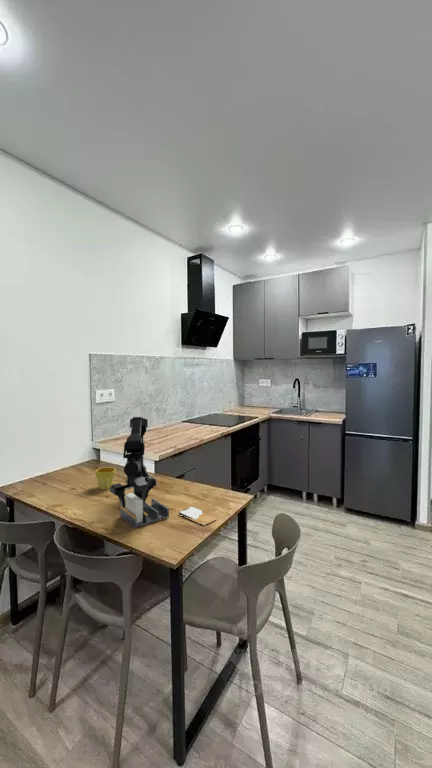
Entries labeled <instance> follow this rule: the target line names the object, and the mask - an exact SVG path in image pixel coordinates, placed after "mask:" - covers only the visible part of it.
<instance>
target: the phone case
mask: <svg viewBox="0 0 432 768" xmlns="http://www.w3.org/2000/svg"><path fill="white" fill-rule="evenodd" d="M202 511H203V510H201V509H199V508H197V507H196V506H195V507H194V506H188V507H187V508H185V509H183V510H180V511H178V515H179V514H180V515H183V516H185V517H188V518H191V519H195V520H196V519H197V518H199V515H201V514H203V513H202ZM180 515H179V516H180Z"/></svg>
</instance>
